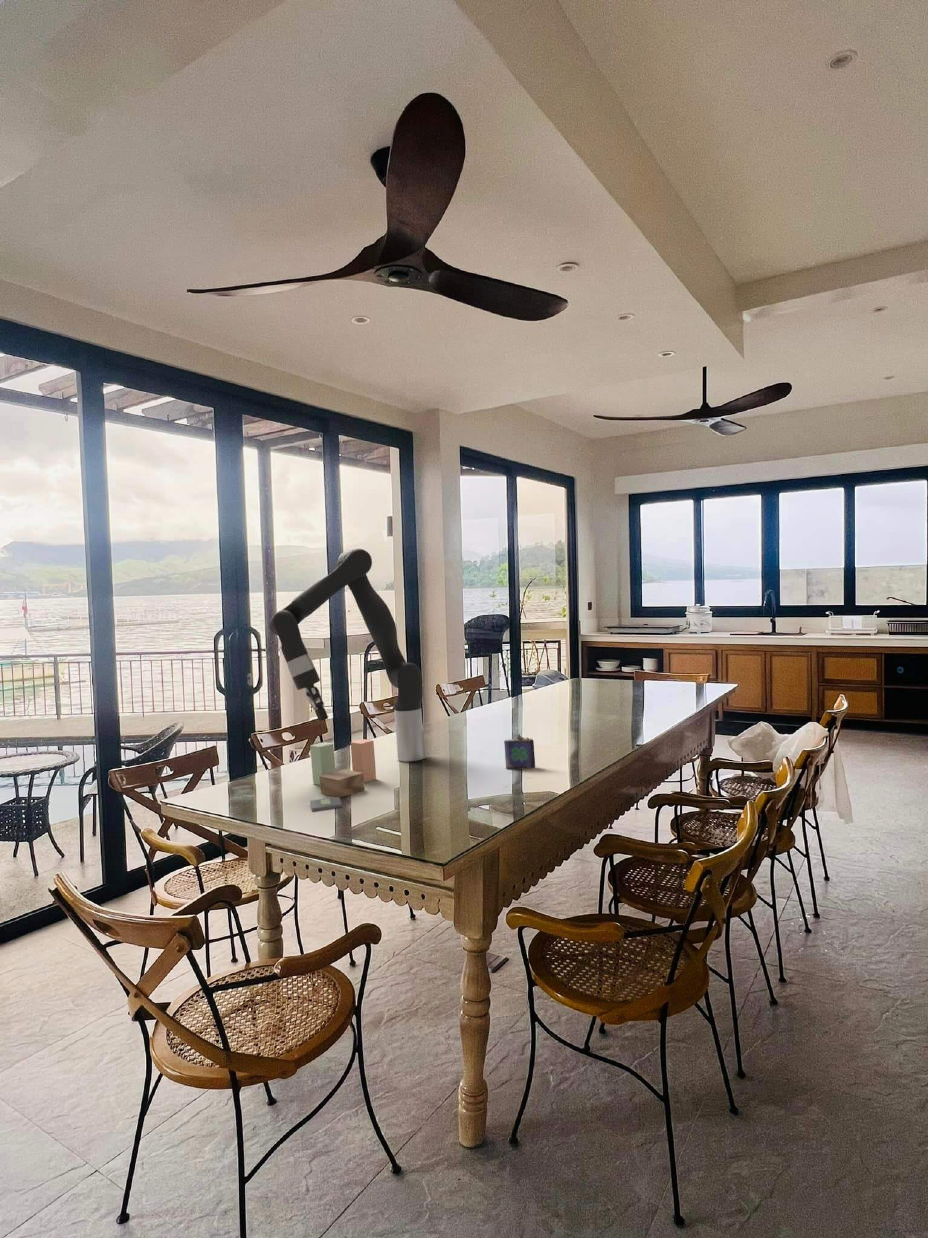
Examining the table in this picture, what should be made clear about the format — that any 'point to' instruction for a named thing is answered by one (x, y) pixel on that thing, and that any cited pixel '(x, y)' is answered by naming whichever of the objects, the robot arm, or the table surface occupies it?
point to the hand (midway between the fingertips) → (323, 719)
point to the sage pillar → (322, 760)
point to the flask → (519, 753)
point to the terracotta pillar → (364, 758)
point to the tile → (325, 804)
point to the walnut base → (342, 783)
